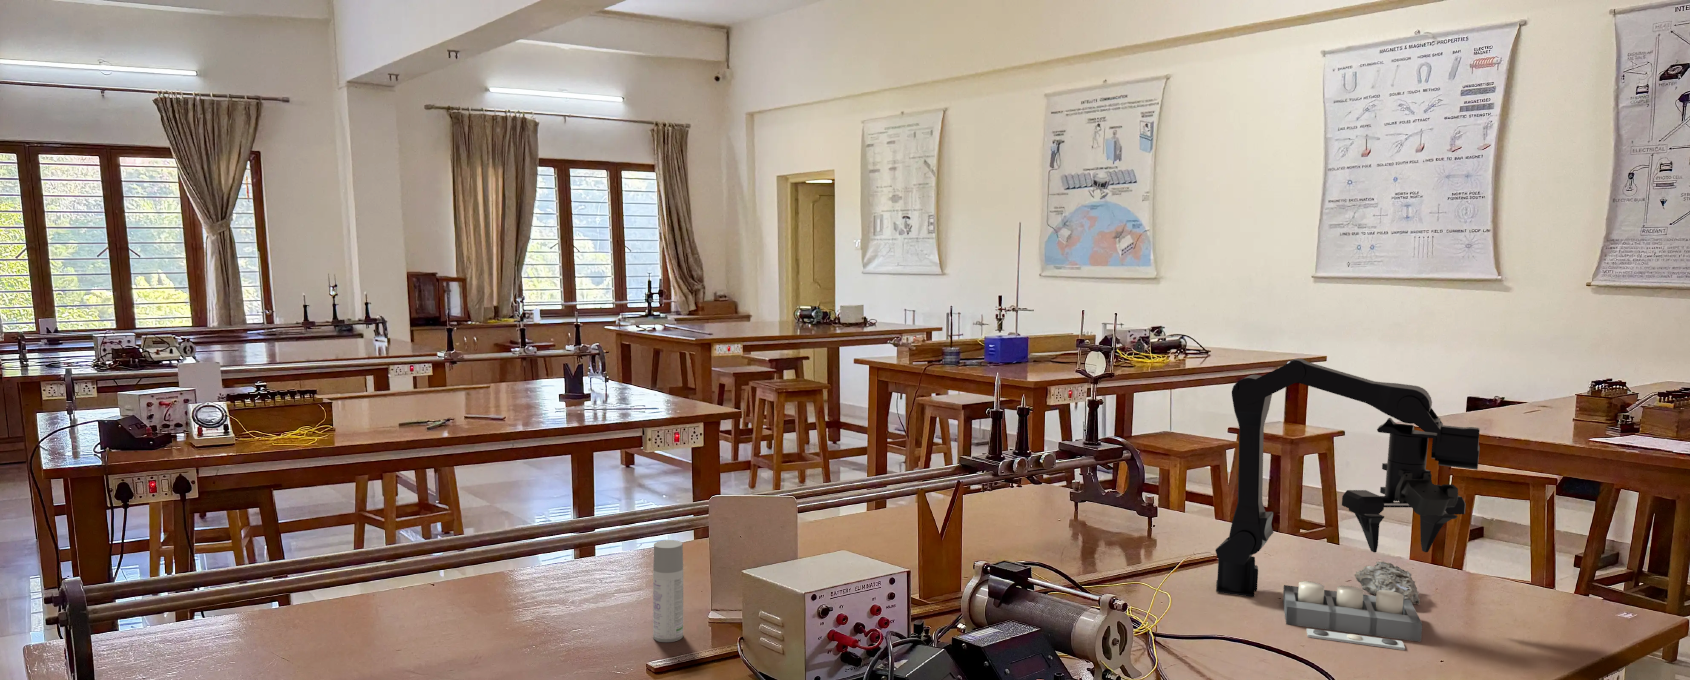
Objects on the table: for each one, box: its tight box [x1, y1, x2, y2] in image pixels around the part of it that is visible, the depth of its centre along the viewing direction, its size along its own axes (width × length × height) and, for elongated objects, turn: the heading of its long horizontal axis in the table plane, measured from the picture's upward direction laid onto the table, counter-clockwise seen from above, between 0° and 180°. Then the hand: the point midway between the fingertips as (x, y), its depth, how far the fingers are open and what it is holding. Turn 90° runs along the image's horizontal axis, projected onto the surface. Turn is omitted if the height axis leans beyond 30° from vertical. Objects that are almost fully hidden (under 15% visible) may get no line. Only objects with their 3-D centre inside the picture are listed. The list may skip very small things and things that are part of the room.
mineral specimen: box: [1354, 560, 1421, 605], centre depth 187 cm, size 6×11×12 cm
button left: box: [1298, 580, 1325, 605], centre depth 177 cm, size 4×4×4 cm
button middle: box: [1336, 585, 1364, 609], centre depth 175 cm, size 4×4×4 cm
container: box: [652, 539, 684, 643], centre depth 162 cm, size 5×5×15 cm
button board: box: [1282, 584, 1423, 643], centre depth 175 cm, size 20×12×3 cm, turn 70°
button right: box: [1375, 590, 1404, 614], centre depth 173 cm, size 4×4×4 cm
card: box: [1306, 628, 1406, 651], centre depth 166 cm, size 14×3×1 cm, turn 70°
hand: (1399, 551), depth 175 cm, fingers open, 9 cm apart
